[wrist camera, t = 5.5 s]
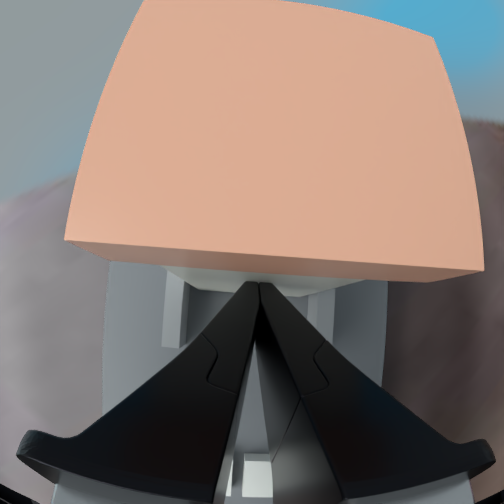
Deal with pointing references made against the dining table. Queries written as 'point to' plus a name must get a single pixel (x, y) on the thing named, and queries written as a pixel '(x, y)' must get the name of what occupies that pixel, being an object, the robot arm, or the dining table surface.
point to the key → (277, 151)
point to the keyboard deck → (202, 312)
